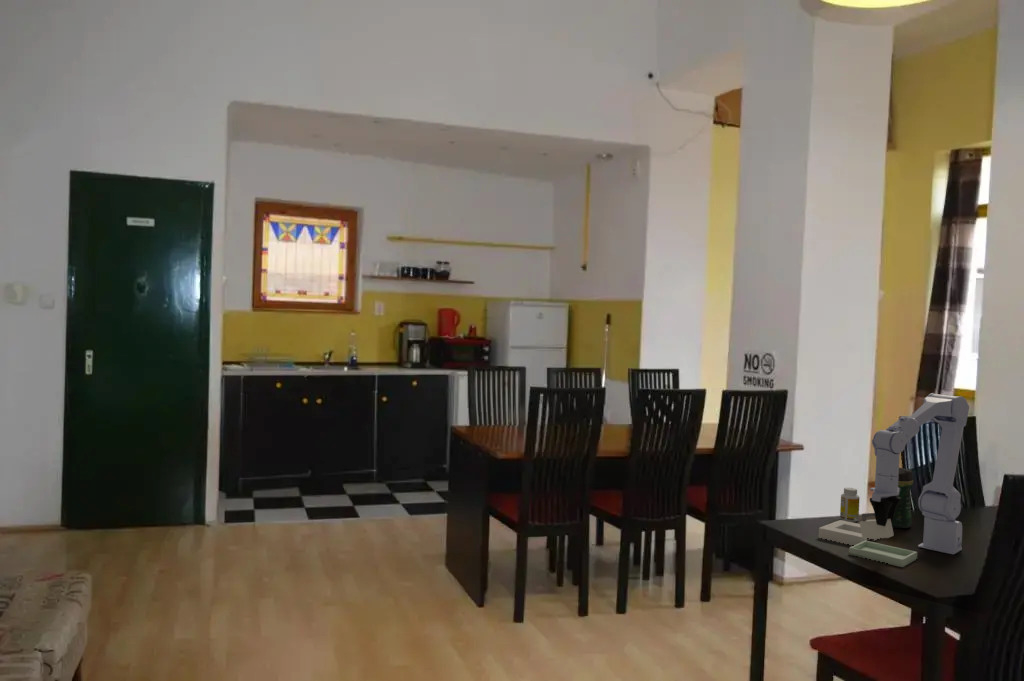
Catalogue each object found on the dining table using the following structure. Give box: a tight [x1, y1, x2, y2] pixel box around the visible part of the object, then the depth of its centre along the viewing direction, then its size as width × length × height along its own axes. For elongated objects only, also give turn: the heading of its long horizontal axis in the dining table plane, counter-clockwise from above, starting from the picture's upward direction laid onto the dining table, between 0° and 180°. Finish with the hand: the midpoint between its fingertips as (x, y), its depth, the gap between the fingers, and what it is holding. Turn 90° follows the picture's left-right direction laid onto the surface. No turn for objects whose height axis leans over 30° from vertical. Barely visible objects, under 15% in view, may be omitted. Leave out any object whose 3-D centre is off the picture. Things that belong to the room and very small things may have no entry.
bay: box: [818, 519, 881, 546], centre depth 238 cm, size 12×15×3 cm
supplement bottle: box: [839, 487, 860, 523], centre depth 260 cm, size 6×6×10 cm
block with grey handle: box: [858, 512, 895, 539], centre depth 222 cm, size 7×4×6 cm, turn 45°
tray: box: [848, 540, 918, 568], centre depth 220 cm, size 14×11×2 cm
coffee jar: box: [892, 467, 914, 529], centre depth 256 cm, size 10×8×19 cm
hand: (884, 523), depth 220 cm, fingers closed on block with grey handle, 4 cm apart
